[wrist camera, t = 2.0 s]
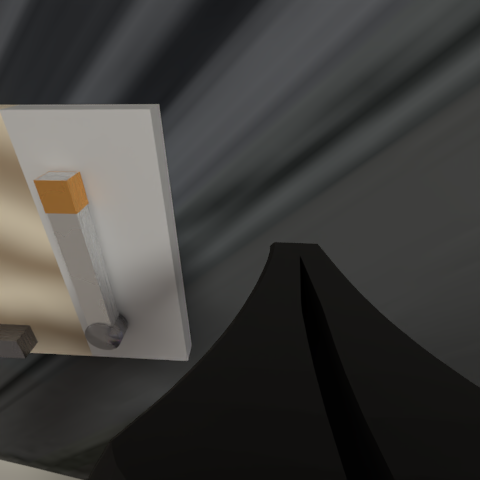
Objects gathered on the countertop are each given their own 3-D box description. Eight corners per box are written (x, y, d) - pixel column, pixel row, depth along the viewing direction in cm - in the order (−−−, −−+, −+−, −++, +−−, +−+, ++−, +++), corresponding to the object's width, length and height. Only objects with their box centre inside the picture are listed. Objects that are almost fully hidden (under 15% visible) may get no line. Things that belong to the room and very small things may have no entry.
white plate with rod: (191, 345, 26) (187, 361, 25) (101, 340, 26) (92, 355, 25) (159, 104, 16) (150, 109, 15) (19, 104, 17) (-1, 109, 16)
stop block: (38, 342, 25) (25, 358, 23) (-12, 339, 25) (-27, 355, 24) (29, 325, 24) (16, 341, 22) (-22, 322, 24) (-38, 338, 23)
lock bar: (131, 334, 23) (123, 350, 22) (98, 333, 23) (89, 349, 22) (86, 171, 17) (72, 181, 16) (42, 170, 17) (25, 180, 16)
